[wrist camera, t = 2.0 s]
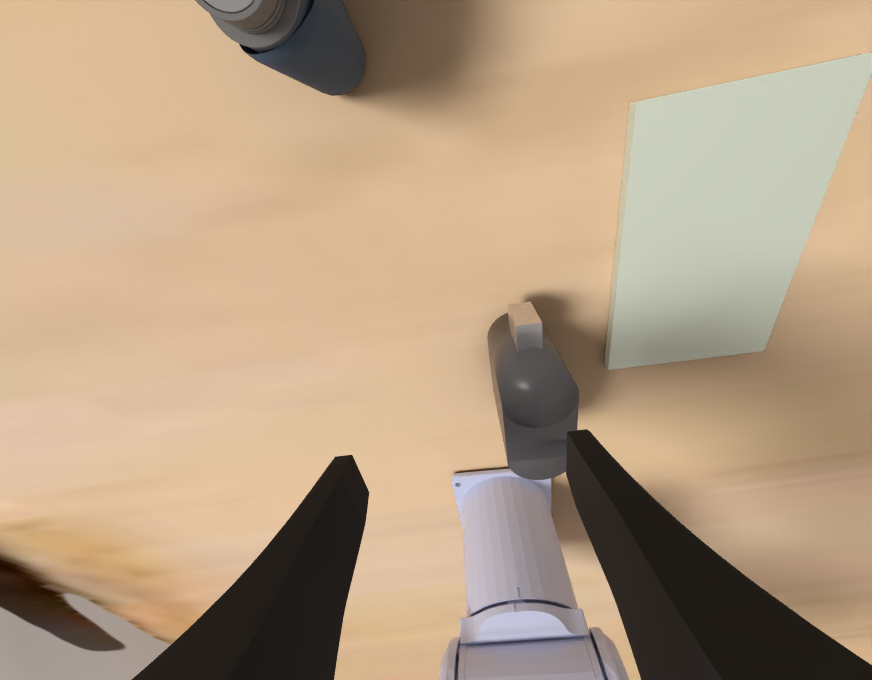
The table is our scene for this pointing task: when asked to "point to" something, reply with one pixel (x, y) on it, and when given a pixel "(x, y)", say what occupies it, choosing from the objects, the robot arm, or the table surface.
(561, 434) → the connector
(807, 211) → the board
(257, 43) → the vaping device
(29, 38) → the table surface
